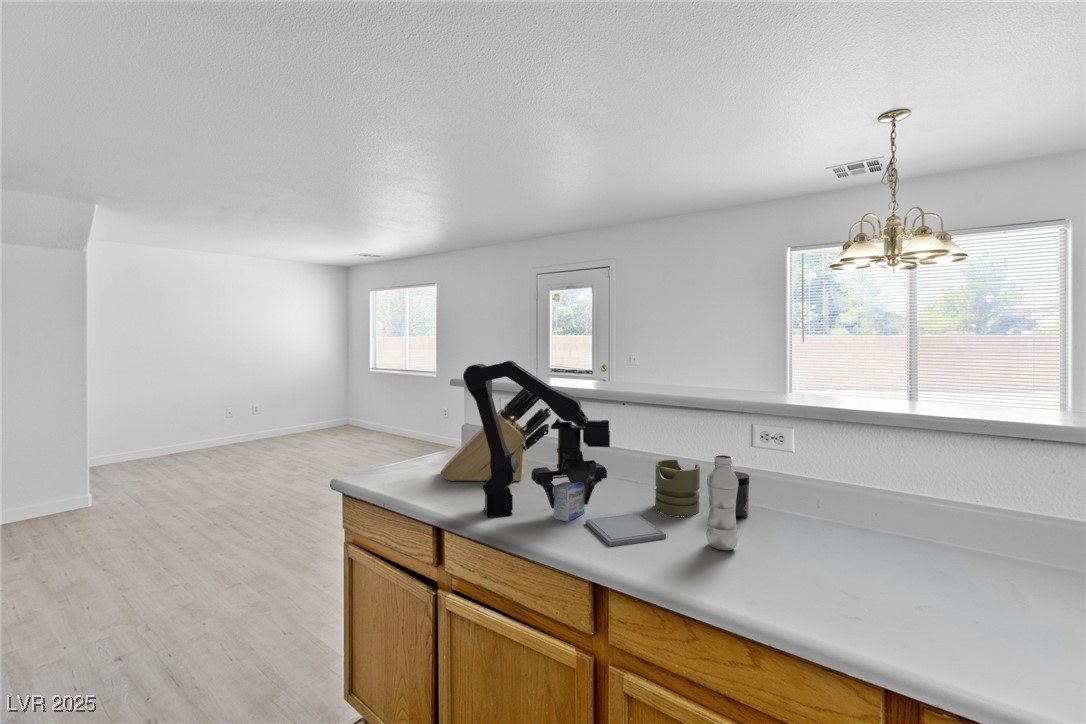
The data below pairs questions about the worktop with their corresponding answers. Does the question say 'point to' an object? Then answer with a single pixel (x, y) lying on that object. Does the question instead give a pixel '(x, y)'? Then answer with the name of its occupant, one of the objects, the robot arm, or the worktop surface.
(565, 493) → the medicine box
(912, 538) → the worktop surface
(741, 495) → the supplement container
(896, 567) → the worktop surface
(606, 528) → the slate pad
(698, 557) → the worktop surface
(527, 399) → the knife block
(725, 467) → the plastic bottle
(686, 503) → the piston
